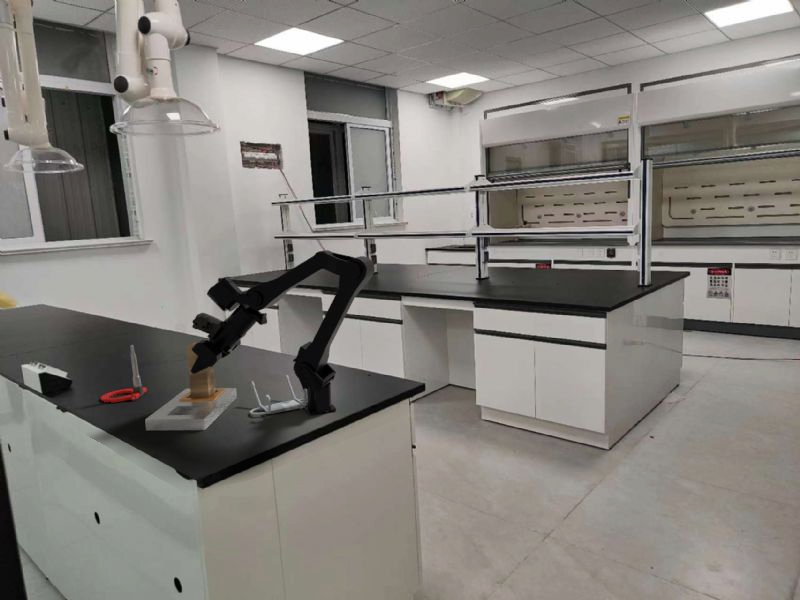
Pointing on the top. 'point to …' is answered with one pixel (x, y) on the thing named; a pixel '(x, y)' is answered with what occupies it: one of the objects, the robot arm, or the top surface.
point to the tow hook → (136, 391)
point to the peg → (200, 377)
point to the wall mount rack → (279, 406)
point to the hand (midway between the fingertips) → (195, 369)
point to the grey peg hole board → (191, 411)
